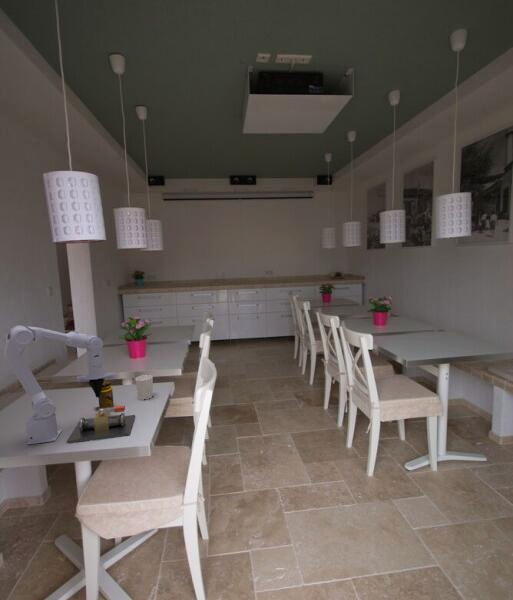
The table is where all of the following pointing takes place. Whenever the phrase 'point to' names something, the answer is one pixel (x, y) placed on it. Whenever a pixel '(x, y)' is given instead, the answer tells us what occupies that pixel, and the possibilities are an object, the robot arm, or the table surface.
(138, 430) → the table surface
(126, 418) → the valve body
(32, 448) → the table surface
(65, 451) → the table surface
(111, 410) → the valve lever
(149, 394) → the white cup
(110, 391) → the condiment
